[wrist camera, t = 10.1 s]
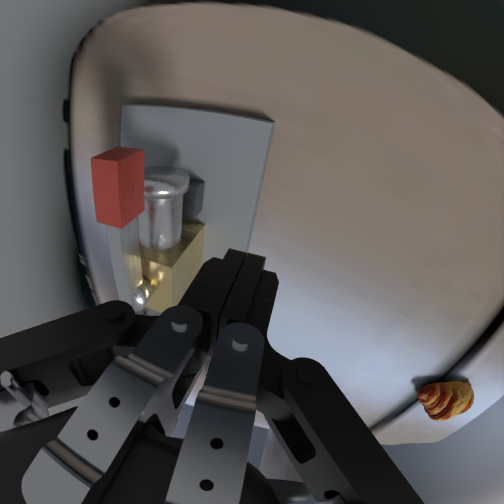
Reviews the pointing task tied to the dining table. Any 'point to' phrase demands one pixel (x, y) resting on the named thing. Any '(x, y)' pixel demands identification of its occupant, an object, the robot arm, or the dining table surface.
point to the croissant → (446, 399)
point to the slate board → (207, 163)
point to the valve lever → (122, 217)
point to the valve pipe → (170, 235)
